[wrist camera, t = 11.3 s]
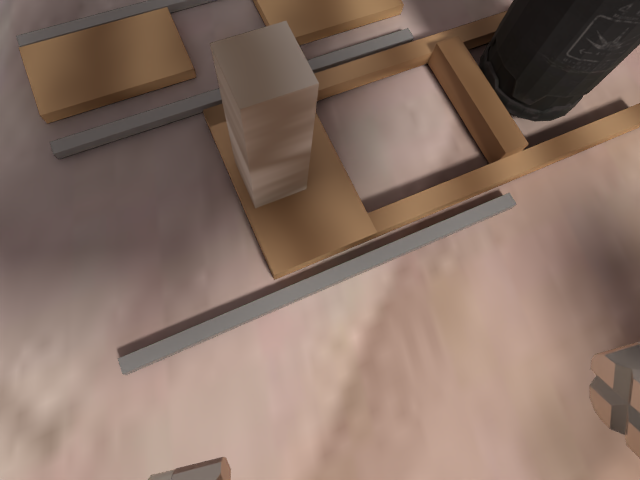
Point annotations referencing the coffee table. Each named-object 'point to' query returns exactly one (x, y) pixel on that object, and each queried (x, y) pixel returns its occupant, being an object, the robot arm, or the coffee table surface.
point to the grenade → (557, 52)
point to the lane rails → (198, 103)
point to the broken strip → (160, 52)
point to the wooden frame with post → (320, 156)
